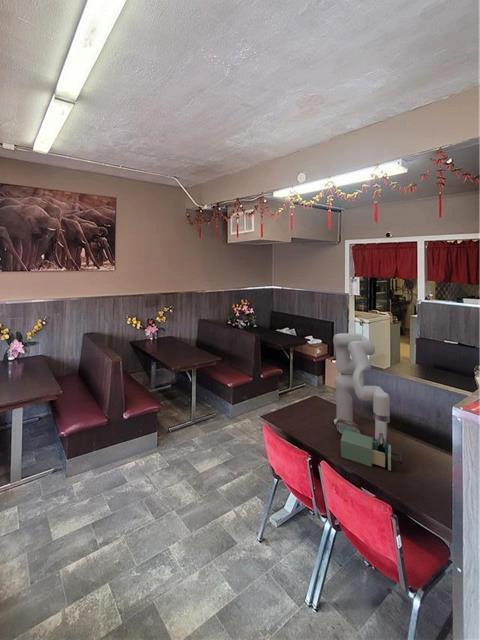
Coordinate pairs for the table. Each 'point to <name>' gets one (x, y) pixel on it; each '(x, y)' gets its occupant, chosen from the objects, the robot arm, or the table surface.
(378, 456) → the drawer
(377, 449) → the cube
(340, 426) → the tin
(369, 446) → the cabinet
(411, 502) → the table surface
